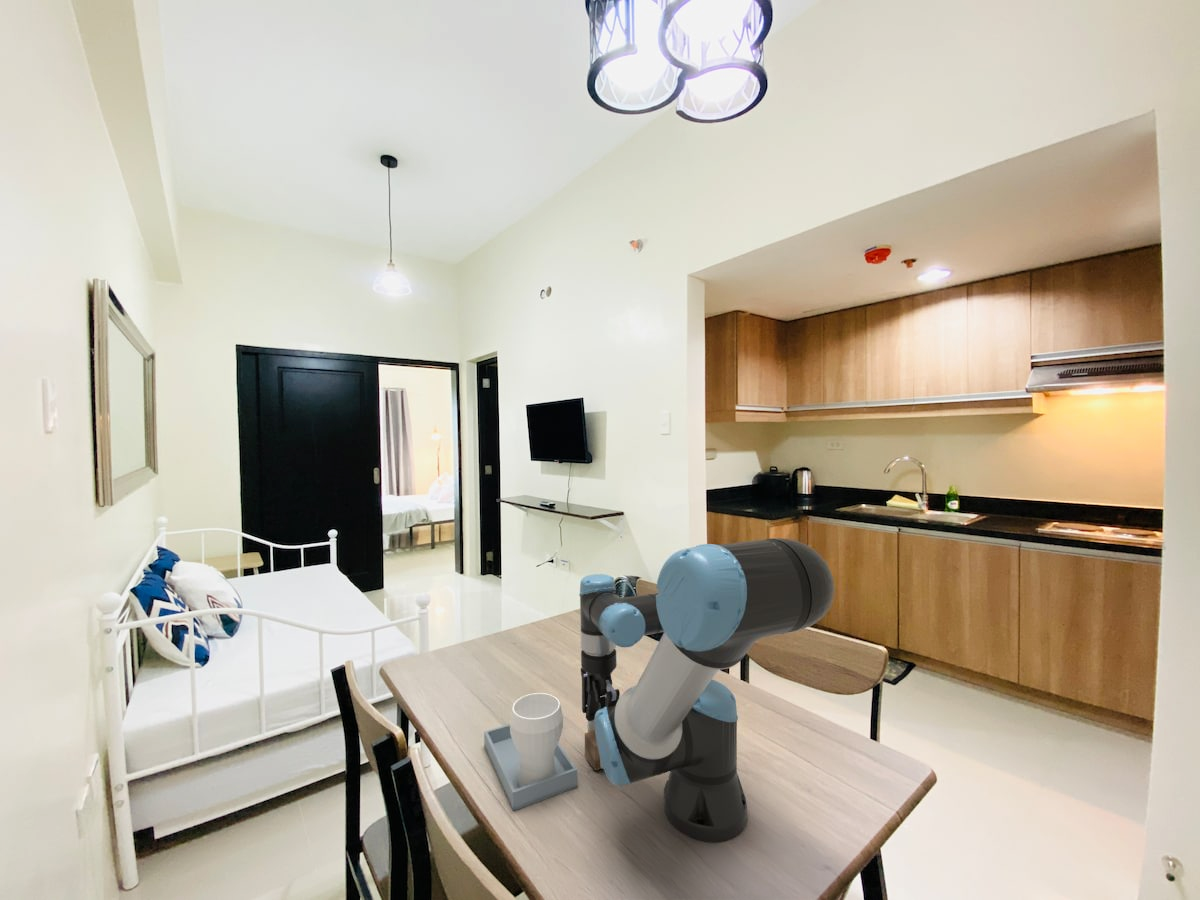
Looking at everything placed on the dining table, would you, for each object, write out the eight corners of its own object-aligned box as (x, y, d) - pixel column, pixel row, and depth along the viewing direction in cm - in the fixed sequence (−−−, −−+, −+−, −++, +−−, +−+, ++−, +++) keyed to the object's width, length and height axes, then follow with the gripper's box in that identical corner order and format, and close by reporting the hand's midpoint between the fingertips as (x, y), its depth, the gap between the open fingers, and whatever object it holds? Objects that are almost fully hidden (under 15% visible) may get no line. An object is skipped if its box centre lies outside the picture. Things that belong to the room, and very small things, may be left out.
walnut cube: (616, 762, 101) (616, 739, 101) (595, 770, 99) (594, 746, 99) (605, 749, 106) (605, 726, 106) (584, 756, 103) (584, 733, 103)
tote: (577, 786, 95) (577, 769, 95) (513, 811, 89) (512, 792, 89) (539, 729, 114) (539, 715, 114) (484, 746, 108) (484, 731, 108)
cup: (554, 802, 90) (553, 723, 90) (502, 794, 92) (500, 717, 92) (569, 764, 101) (568, 694, 100) (521, 758, 103) (520, 689, 103)
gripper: (636, 661, 96) (637, 777, 96) (595, 631, 112) (596, 730, 112) (603, 670, 92) (605, 790, 93) (565, 638, 108) (567, 740, 108)
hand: (600, 757), depth 102 cm, fingers closed on walnut cube, 5 cm apart
